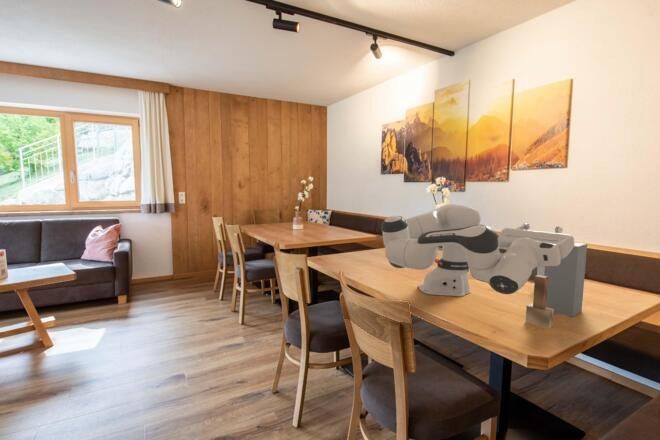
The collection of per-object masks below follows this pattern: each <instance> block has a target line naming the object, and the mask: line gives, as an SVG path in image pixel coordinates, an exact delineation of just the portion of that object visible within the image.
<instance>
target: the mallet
mask: <svg viewBox="0 0 660 440" xmlns="http://www.w3.org/2000/svg"><path fill="white" fill-rule="evenodd" d="M533 284H534V285H533V287H534V288H533V301H532V302H531V303H530V304H526V308H525V309H526V310H525V323H526V324H529V325H532V326H535V327H540V328H541V329H542V328H543V329H546V330H549V329H551V328H553V325H554V314H555V312H554V309H552V308H548V307H546V303H547V289H548V276H543V275H536V276H535V280H534V283H533Z"/></svg>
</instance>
